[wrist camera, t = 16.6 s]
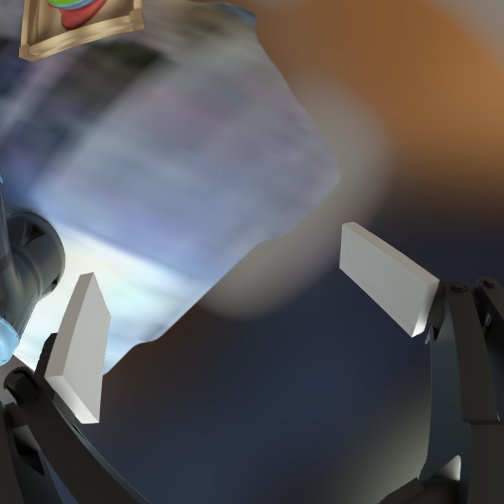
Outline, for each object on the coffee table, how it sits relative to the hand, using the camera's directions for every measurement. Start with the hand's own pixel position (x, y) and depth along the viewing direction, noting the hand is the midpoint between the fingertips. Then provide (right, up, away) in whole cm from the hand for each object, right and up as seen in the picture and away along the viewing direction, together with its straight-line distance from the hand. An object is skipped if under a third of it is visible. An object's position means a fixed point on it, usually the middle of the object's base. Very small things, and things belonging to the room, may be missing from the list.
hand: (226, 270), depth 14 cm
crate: (-24, +39, +10) cm, 47 cm away
